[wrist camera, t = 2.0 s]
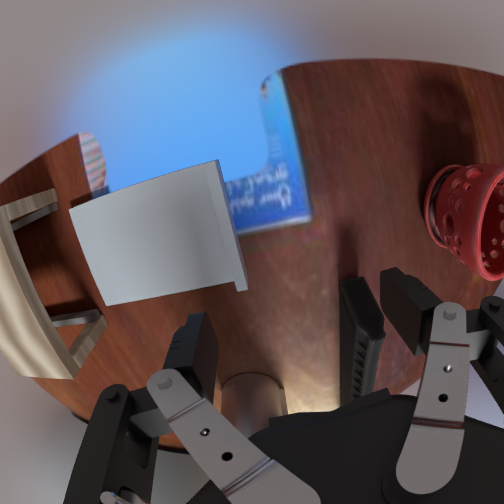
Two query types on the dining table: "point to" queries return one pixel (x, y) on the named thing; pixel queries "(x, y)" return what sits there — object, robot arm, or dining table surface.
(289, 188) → the dining table surface
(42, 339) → the small table
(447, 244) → the plant pot
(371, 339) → the magazine
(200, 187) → the slab
